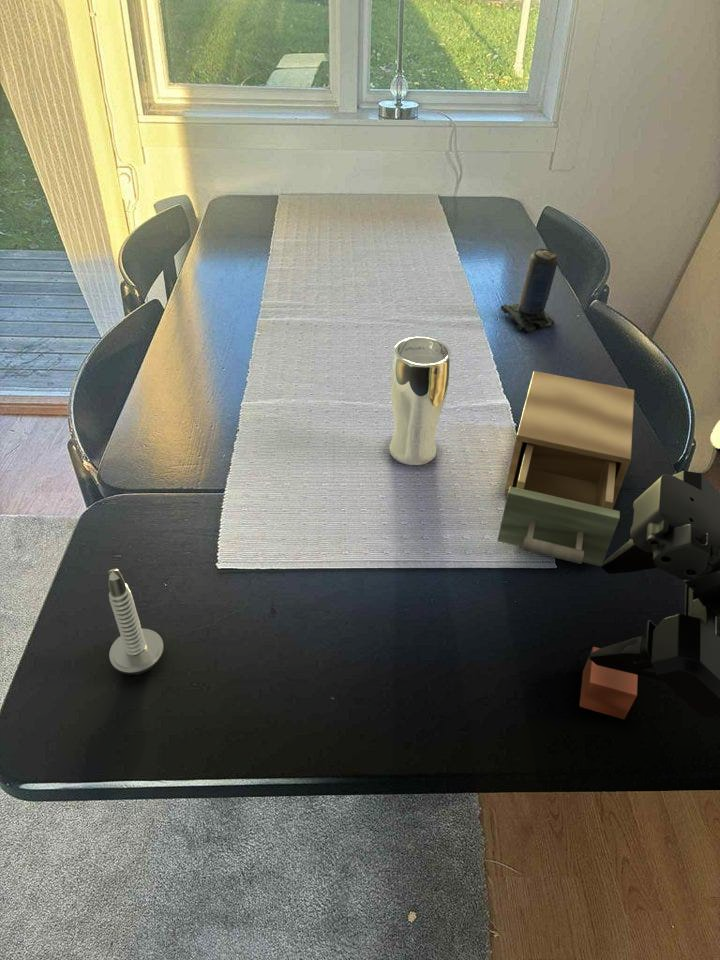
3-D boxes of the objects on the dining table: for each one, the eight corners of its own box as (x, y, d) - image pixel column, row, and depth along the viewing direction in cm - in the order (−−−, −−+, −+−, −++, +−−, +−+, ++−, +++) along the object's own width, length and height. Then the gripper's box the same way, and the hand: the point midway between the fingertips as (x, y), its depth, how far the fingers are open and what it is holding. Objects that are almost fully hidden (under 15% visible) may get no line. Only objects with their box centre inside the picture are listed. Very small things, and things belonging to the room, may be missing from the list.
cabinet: (609, 518, 83) (631, 459, 77) (503, 494, 86) (516, 435, 80) (615, 446, 93) (634, 389, 88) (520, 427, 96) (533, 370, 90)
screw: (141, 694, 64) (102, 670, 65) (177, 656, 67) (139, 634, 69) (112, 602, 55) (68, 577, 57) (155, 564, 58) (113, 541, 60)
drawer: (598, 595, 73) (617, 547, 68) (490, 567, 75) (501, 519, 70) (608, 488, 86) (624, 441, 81) (515, 468, 88) (525, 421, 83)
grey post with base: (560, 325, 118) (577, 257, 111) (524, 335, 116) (539, 266, 108) (527, 303, 124) (540, 236, 116) (492, 311, 121) (503, 244, 114)
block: (626, 683, 66) (638, 658, 63) (624, 719, 63) (637, 695, 60) (582, 671, 67) (593, 646, 64) (579, 706, 64) (590, 682, 61)
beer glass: (440, 469, 89) (454, 367, 79) (386, 467, 89) (393, 365, 79) (437, 435, 94) (450, 336, 84) (385, 434, 94) (392, 334, 84)
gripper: (726, 384, 50) (551, 472, 60) (732, 586, 37) (510, 651, 48) (811, 483, 53) (630, 550, 64) (844, 700, 40) (612, 737, 51)
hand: (598, 611), depth 56 cm, fingers open, 9 cm apart
